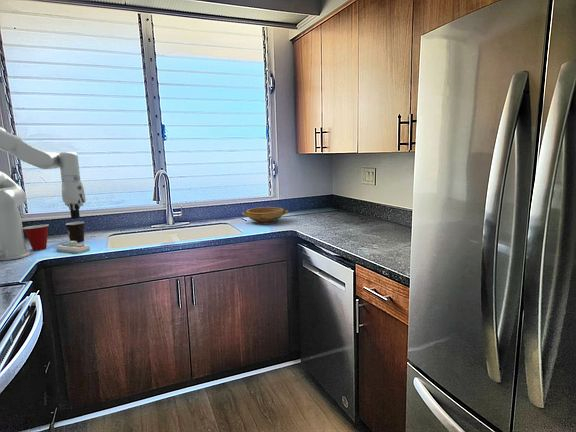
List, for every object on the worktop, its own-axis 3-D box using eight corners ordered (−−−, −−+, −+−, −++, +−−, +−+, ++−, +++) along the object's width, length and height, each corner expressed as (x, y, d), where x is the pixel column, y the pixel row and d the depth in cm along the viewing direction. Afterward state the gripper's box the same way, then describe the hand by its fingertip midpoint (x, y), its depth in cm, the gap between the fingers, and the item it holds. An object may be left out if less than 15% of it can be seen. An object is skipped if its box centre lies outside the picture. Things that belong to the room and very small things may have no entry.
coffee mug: (69, 240, 199) (67, 222, 197) (87, 238, 202) (85, 221, 200) (65, 245, 188) (62, 226, 187) (84, 243, 191) (81, 224, 190)
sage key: (73, 246, 176) (72, 242, 176) (68, 245, 177) (68, 241, 177) (77, 245, 178) (76, 241, 178) (72, 244, 179) (72, 240, 179)
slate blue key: (66, 248, 178) (66, 244, 178) (62, 247, 179) (61, 243, 179) (70, 246, 180) (70, 243, 180) (66, 246, 181) (65, 242, 181)
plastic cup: (47, 245, 190) (44, 222, 188) (55, 248, 184) (52, 224, 181) (23, 249, 182) (19, 226, 180) (30, 253, 175) (26, 228, 173)
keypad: (79, 253, 173) (78, 248, 172) (57, 250, 178) (56, 245, 178) (90, 250, 178) (89, 245, 177) (68, 247, 184) (67, 243, 183)
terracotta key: (80, 249, 174) (80, 245, 174) (75, 249, 176) (75, 245, 175) (84, 248, 176) (84, 244, 176) (79, 247, 178) (79, 243, 177)
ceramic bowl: (241, 227, 222) (241, 214, 221) (242, 219, 246) (242, 207, 244) (290, 224, 225) (290, 212, 224) (286, 217, 249) (286, 206, 247)
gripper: (89, 178, 171) (93, 217, 174) (67, 178, 177) (71, 216, 180) (75, 180, 164) (79, 220, 167) (52, 179, 170) (57, 218, 173)
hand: (75, 218), depth 174 cm, fingers closed
